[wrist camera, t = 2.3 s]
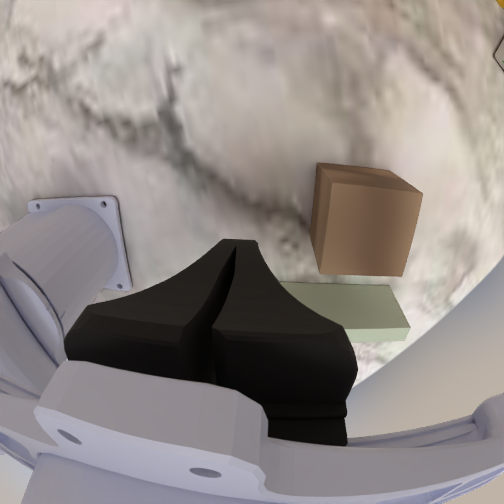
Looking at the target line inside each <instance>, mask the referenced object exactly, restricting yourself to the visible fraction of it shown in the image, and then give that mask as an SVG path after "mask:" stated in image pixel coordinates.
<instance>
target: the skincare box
mask: <svg viewBox="0 0 504 504" xmlns="http://www.w3.org/2000/svg"><path fill="white" fill-rule="evenodd" d="M495 58H496V60H497V61H498V63H499V64H500V65H501V67H502V68H503V69H504V39H503V41H502V43H501V44H500V46H499V48H498V50H497V51H496V53H495Z"/></svg>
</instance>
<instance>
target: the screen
mask: <svg viewBox="0 0 504 504" xmlns="http://www.w3.org/2000/svg"><path fill="white" fill-rule="evenodd" d="M280 284H281V285H282V286H283V287H284V288H285V289H286V290H287V291H288V292H289V293H290V294H291V295H292V296H294V297H295V298H296V299H297V300H298V301H300V302H301V303H303V304H304V305H305V306H307V307H308V308H310V309H311V310H313V311H315V312H316V313H318V314H320V315H321V316H323V317H326V318H328V319H330V320H332V321H334V322H336V323H338V324H340V325H342V326H343V327H344V329H345V332H346V334H347V336H348V338H349V340H350V342H385V341H405V339H406V337H407V335H408V332H409V330H410V328H411V327H410V325H409V323H408V321H407V319H406V317H405V315H404V313H403V311H402V309H401V307H400V305H399V304H398V302H397V300H396V298H395V296H394V294H393V292H392V290H391V288H390V286H386V285H349V284H320V283H296V282H280Z"/></svg>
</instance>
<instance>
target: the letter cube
mask: <svg viewBox="0 0 504 504" xmlns="http://www.w3.org/2000/svg"><path fill="white" fill-rule="evenodd" d="M422 197H423V193H422V192H420V191H419V190H417V189H416V188H415V187H413V186H412V185H410V184H409V183H407V182H406V181H404V180H403V179H401V178H400V177H399V176H397V175H396V174H394V173H392V172H391V171H388V170H381V169H373V168H366V167H357V166H348V165H339V164H329V163H318V162H317V169H316V180H315V190H314V200H313V210H312V219H311V228H310V238H311V242H312V245H313V249H314V253H315V257H316V261H317V265H318V269H319V273H320V274H337V275H365V276H397V277H402V275H403V272H404V268H405V265H406V262H407V258H408V255H409V251H410V247H411V244H412V240H413V236H414V232H415V228H416V224H417V220H418V215H419V211H420V206H421V202H422Z"/></svg>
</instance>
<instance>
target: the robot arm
mask: <svg viewBox="0 0 504 504" xmlns="http://www.w3.org/2000/svg"><path fill="white" fill-rule="evenodd" d="M103 201H105V202H106V204H107V206H105V205H104V203H103ZM39 205H40V206H39ZM27 206H28V211H29V214H27V215H26V216H24V217H22V218H21V219H19V220H18V221H17V222H15V223H14V224H12V225H11V226H9V227H8V228H6V229H5V230H4V231H2V232H1V233H0V455H3V454H5V453H7V454H9V455H10V456H11V457H13V458H14V459H16V460H17V461H19V462H20V463H22V464H23V465H25V466H27V467H28V468H30V469H31V470H33V473H32V476H31V478H30V481H29V483H28V486H27V489H26V492H25V494H24V497H23V499H22V502H21V504H442V503H445V502H447V501H450V500H452V499H454V498H457V497H459V496H462V495H464V494H466V493H468V492H470V491H473V490H475V489H477V488H479V487H481V486H483V485H485V484H487V483H489V482H491V481H492V480H493V479H495V478H496V477H498V476H499V475H501V474H502V473H503V472H504V393H502V394H499V395H496V396H493V397H490V398H488V399H486V400H485V401H484V402H482V404H480V405H479V406H478V408H477V409H476V410H475V411H474V413H473V414H472V415H469V416H466V417H462V418H459V419H455V420H451V421H447V422H444V423H440V424H435V425H431V426H426V427H422V428H417V429H412V430H407V431H401V432H396V433H388V434H382V435H375V436H366V437H357V438H347V433H346V426H345V419H344V418H345V417H346V416H347V408H346V402H345V401H346V399H347V397H348V395H349V393H350V390H351V388H352V386H353V384H354V382H355V379H356V376H357V372H358V366H357V361H356V356H355V353H354V350H353V347H352V345H351V343H350V340H349V338H348V336H347V334H346V332H345V329H344V327H343V326H342V325H340V324H338V323H336V322H334V321H332V320H330V319H328V318H326V317H323V316H321V315H320V314H318V313H316V312H315V311H313V310H311V309H310V308H308V307H307V306H305V305H304V304H303V303H301V302H300V301H298V300H297V299H296V298H295V297H294V296H292V295H291V294H290V293H289V292H288V291H287V290H286V289H285V288H284V287H283V286H282V285H281V284H280V282H279V281H278V280H277V279H276V277H275V276H274V275H273V273H272V272H271V270H270V269H269V267H268V266H267V264H266V262H265V261H264V259H263V257H262V255H261V252H260V250H259V247H258V243H257V242H256V241H255V240H240V239H222V240H221V241H220V242H219V243H218V244H216V245H215V246H214V247H213V248H212V249H211V250H209V251H208V252H207V253H206V254H205V255H203V256H202V257H201V258H200V259H198V260H197V261H196V262H194V263H193V264H191V265H190V266H189V267H187V268H186V269H184V270H183V271H181V272H180V273H178V274H176V275H175V276H173V277H171V278H169V279H167V280H165V281H163V282H161V283H159V284H157V285H154V286H152V287H150V288H148V289H145V290H143V291H140V292H137V293H134V294H131V295H128V296H125V297H122V298H118V299H114V300H110V301H105V302H100V303H96V304H92V303H93V302H94V300H95V299H96V297H97V296H98V295H99V293H100V292H101V291H102V289H109V290H118V291H130V290H131V288H132V283H131V278H130V273H129V268H128V263H127V258H126V253H125V248H124V242H123V236H122V230H121V224H120V218H119V211H118V203H117V200H116V199H115V198H114V197H112V196H98V197H72V198H52V199H36V200H30V201H29V202H28V204H27ZM120 284H121V285H122V286H121V285H120ZM67 358H68V361H66V359H67Z"/></svg>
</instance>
